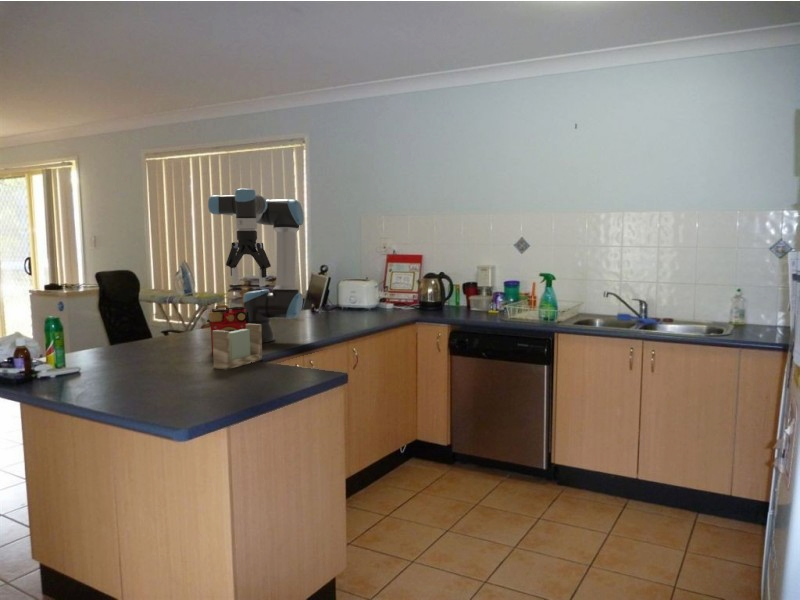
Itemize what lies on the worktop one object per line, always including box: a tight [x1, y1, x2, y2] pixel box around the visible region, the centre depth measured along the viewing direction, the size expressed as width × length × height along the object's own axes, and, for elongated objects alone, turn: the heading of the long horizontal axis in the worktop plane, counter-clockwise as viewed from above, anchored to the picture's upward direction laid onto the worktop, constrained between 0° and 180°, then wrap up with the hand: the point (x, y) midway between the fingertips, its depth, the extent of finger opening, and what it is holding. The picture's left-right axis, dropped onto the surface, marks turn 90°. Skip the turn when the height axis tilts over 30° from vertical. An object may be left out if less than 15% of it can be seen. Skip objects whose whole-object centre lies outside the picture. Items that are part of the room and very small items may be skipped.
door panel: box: [229, 329, 250, 361], centre depth 239 cm, size 10×3×12 cm, turn 153°
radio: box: [208, 304, 249, 356], centre depth 259 cm, size 16×10×20 cm, turn 105°
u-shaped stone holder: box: [212, 323, 263, 371], centre depth 239 cm, size 20×6×14 cm, turn 153°
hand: (248, 285), depth 242 cm, fingers open, 13 cm apart
